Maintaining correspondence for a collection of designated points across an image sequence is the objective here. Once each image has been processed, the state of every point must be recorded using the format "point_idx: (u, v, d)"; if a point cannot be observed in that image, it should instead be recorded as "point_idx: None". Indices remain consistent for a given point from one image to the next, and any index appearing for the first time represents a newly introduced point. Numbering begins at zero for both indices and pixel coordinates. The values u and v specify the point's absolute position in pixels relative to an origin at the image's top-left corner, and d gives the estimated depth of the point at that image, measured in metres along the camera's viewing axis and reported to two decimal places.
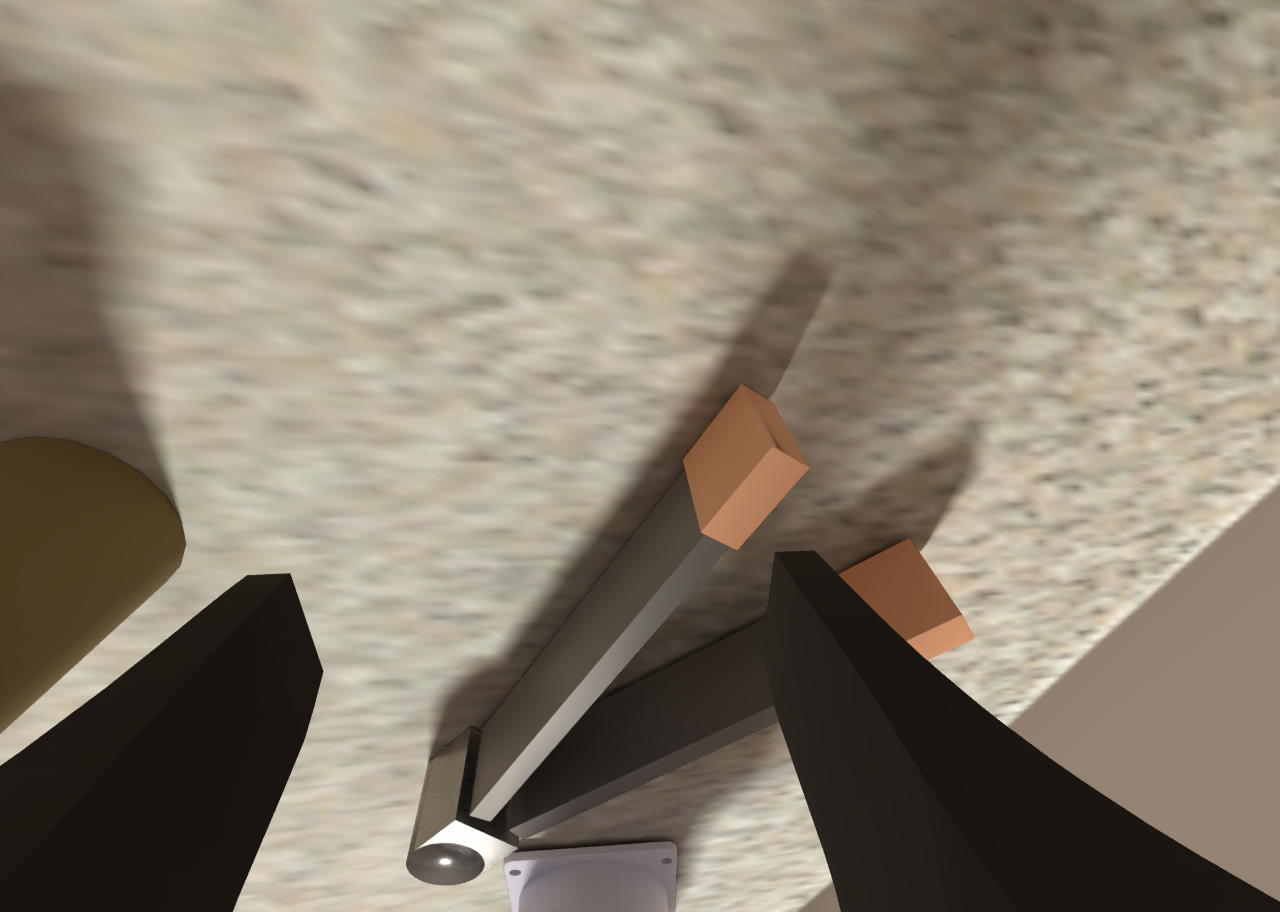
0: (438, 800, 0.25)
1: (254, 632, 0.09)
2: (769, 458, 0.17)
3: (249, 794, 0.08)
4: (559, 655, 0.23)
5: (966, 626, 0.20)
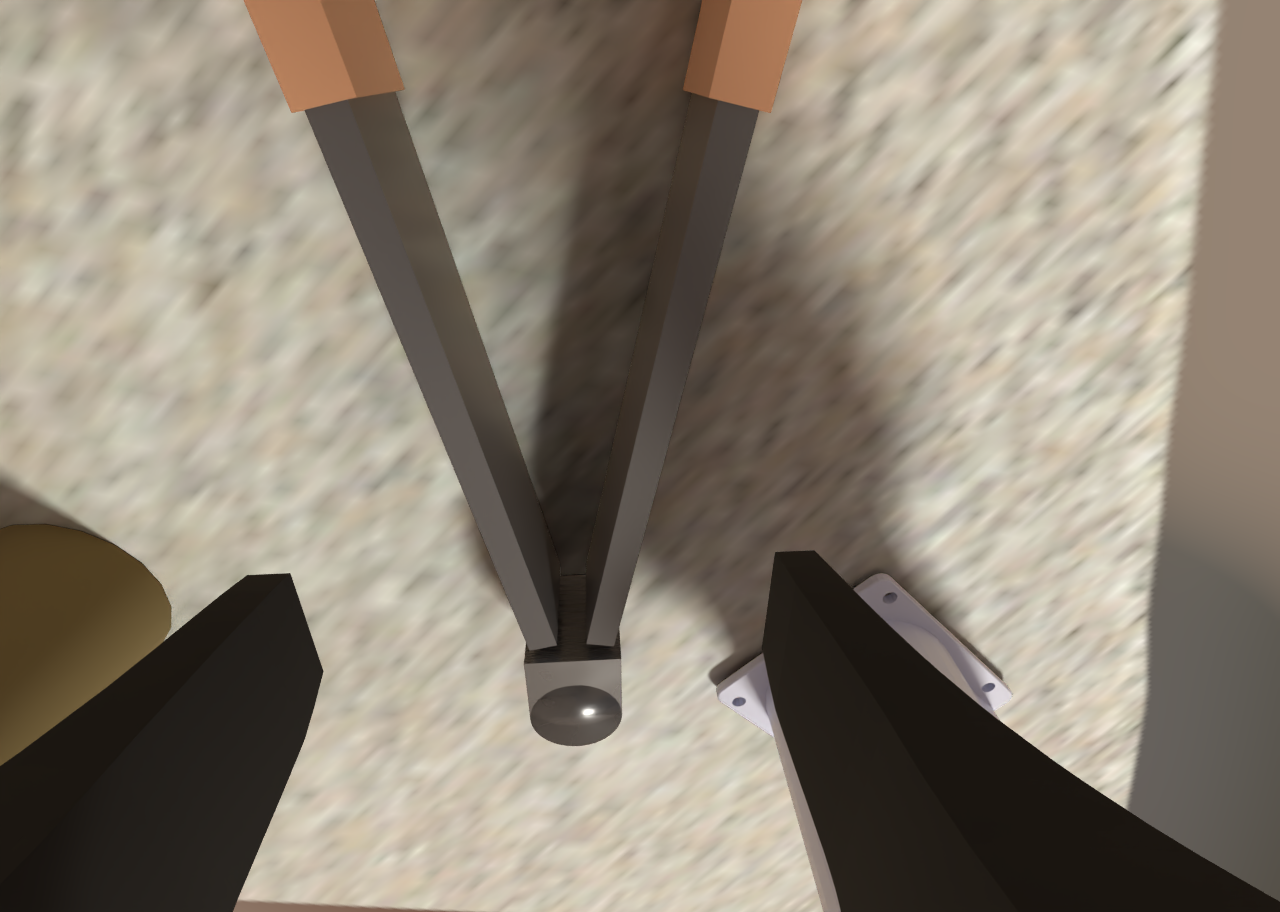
0: None
1: (254, 632, 0.09)
2: None
3: (249, 794, 0.08)
4: None
5: None
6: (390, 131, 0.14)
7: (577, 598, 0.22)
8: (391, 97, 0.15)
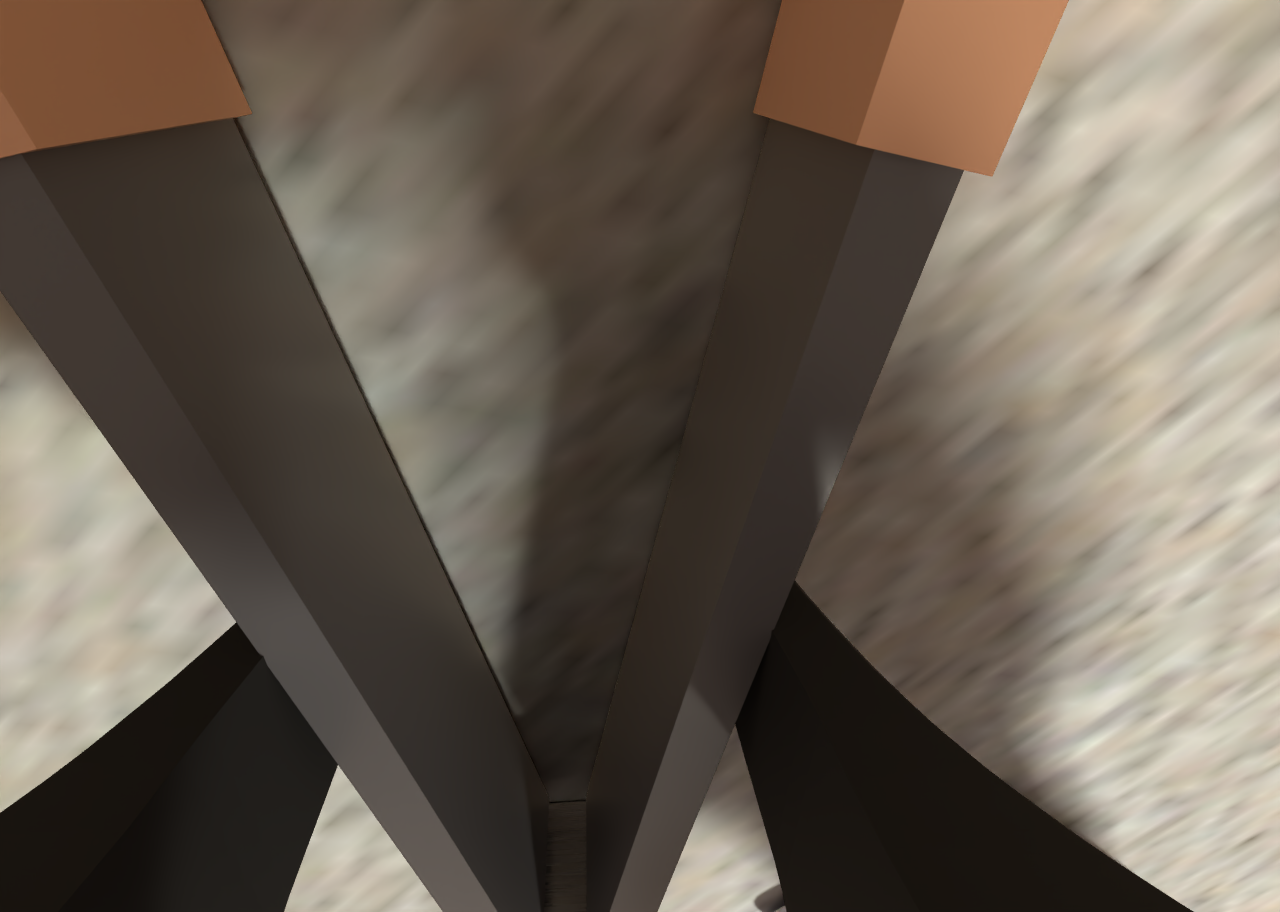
0: None
1: None
2: None
3: (300, 790, 0.09)
4: None
5: None
6: (200, 201, 0.07)
7: (573, 852, 0.15)
8: (218, 130, 0.08)
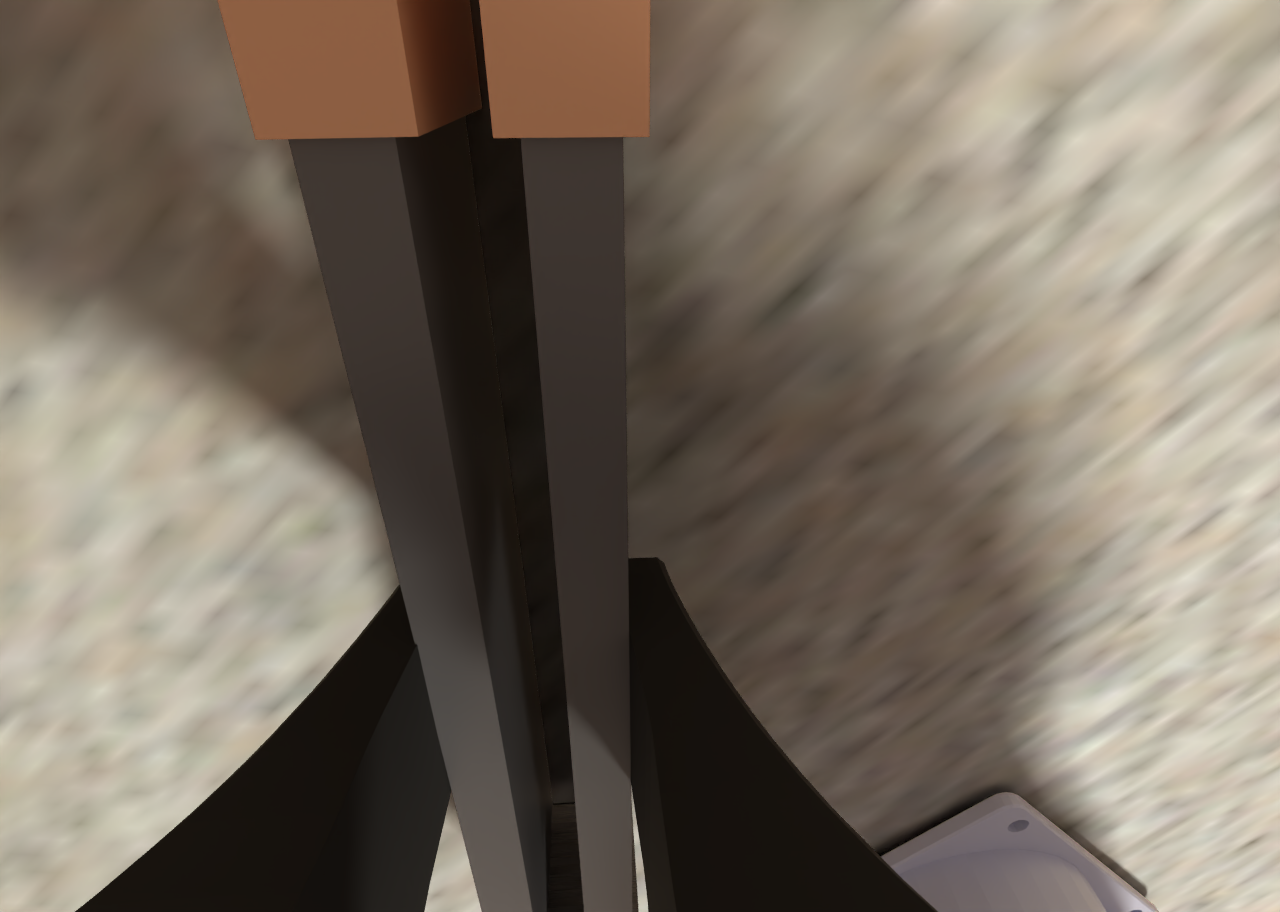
0: None
1: None
2: None
3: (436, 781, 0.09)
4: None
5: None
6: (452, 190, 0.07)
7: (576, 853, 0.15)
8: (459, 120, 0.08)
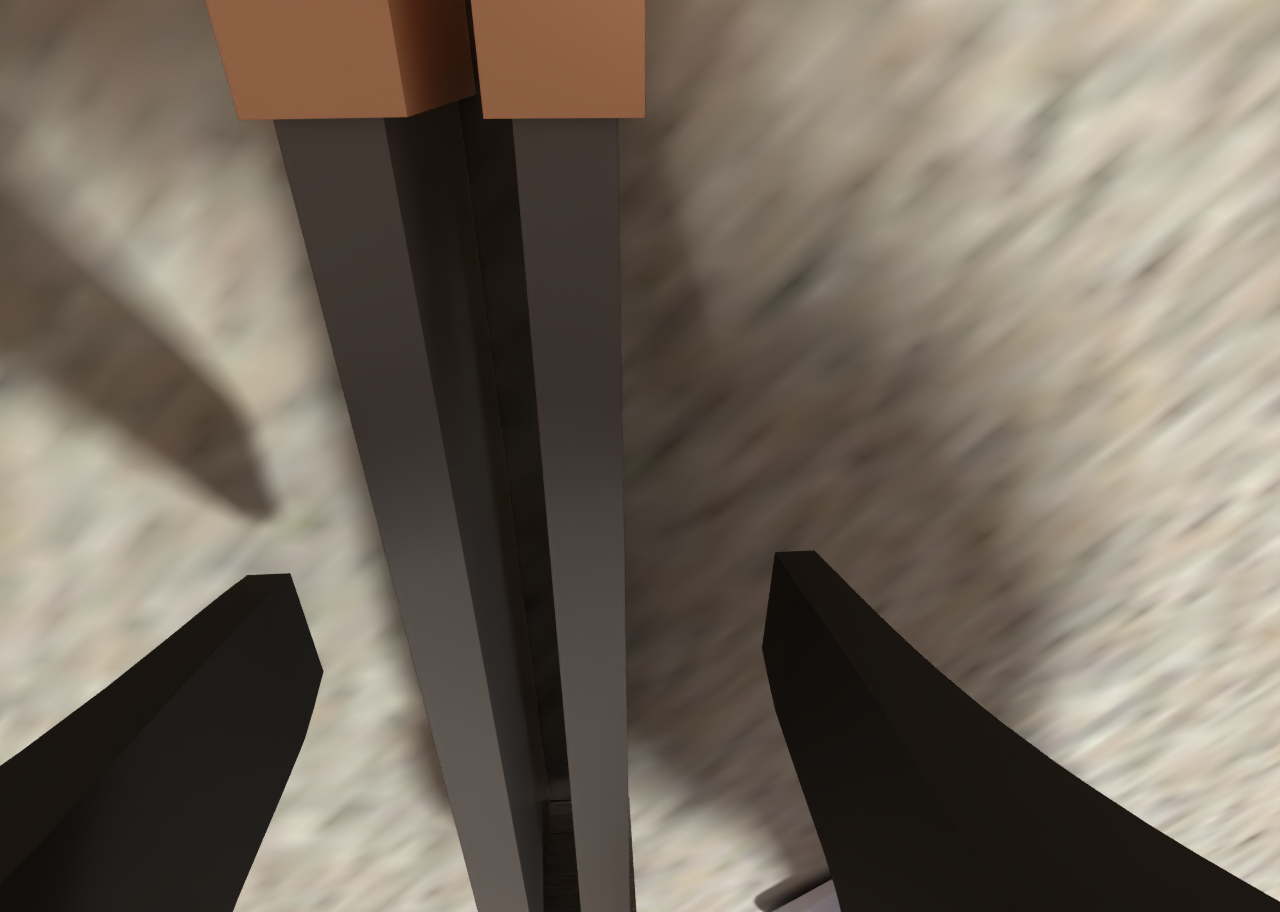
0: None
1: (255, 632, 0.09)
2: None
3: (249, 794, 0.08)
4: None
5: None
6: (444, 176, 0.07)
7: (573, 851, 0.15)
8: (452, 106, 0.08)
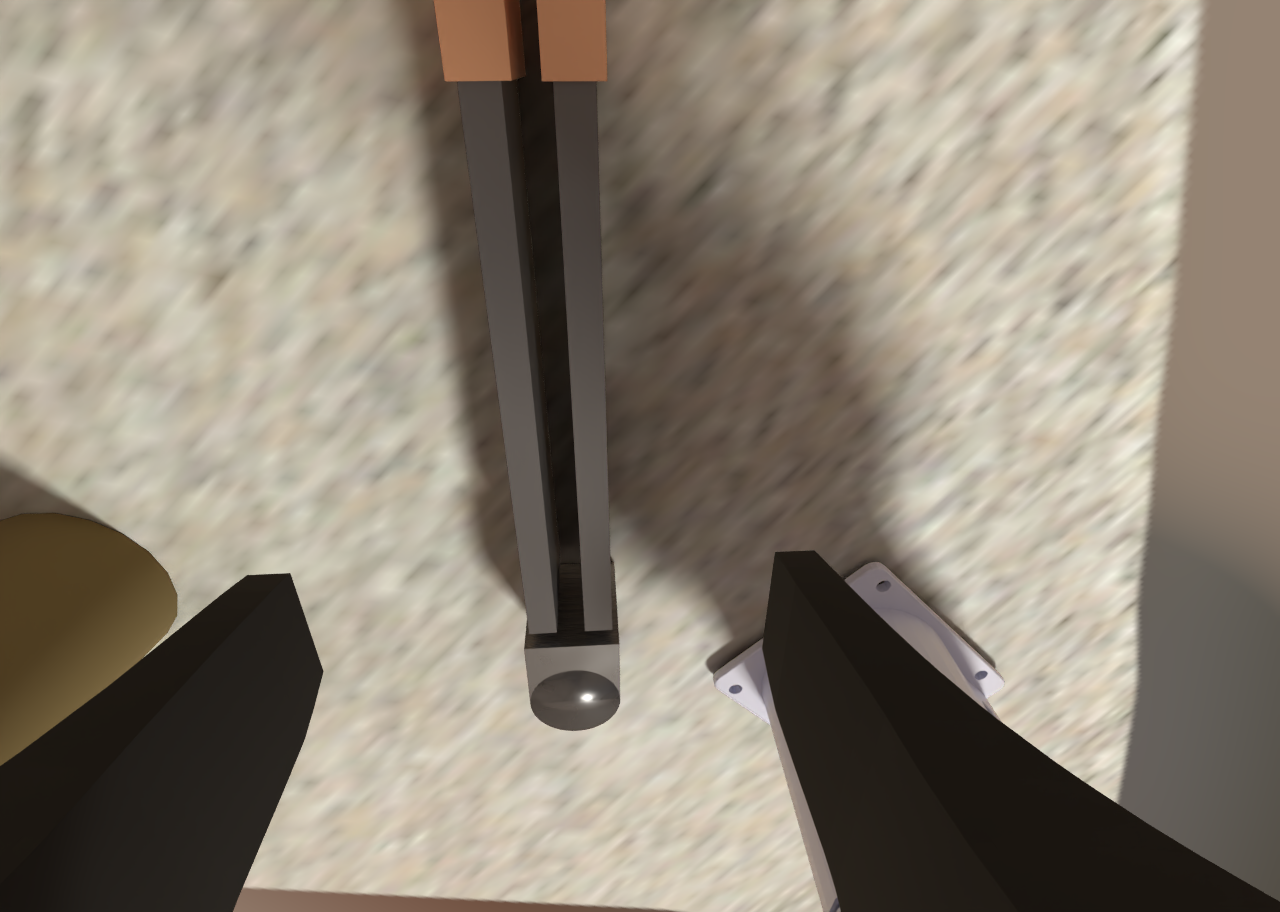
0: None
1: (254, 632, 0.09)
2: None
3: (248, 794, 0.08)
4: None
5: None
6: (514, 115, 0.14)
7: (576, 586, 0.22)
8: (515, 81, 0.15)
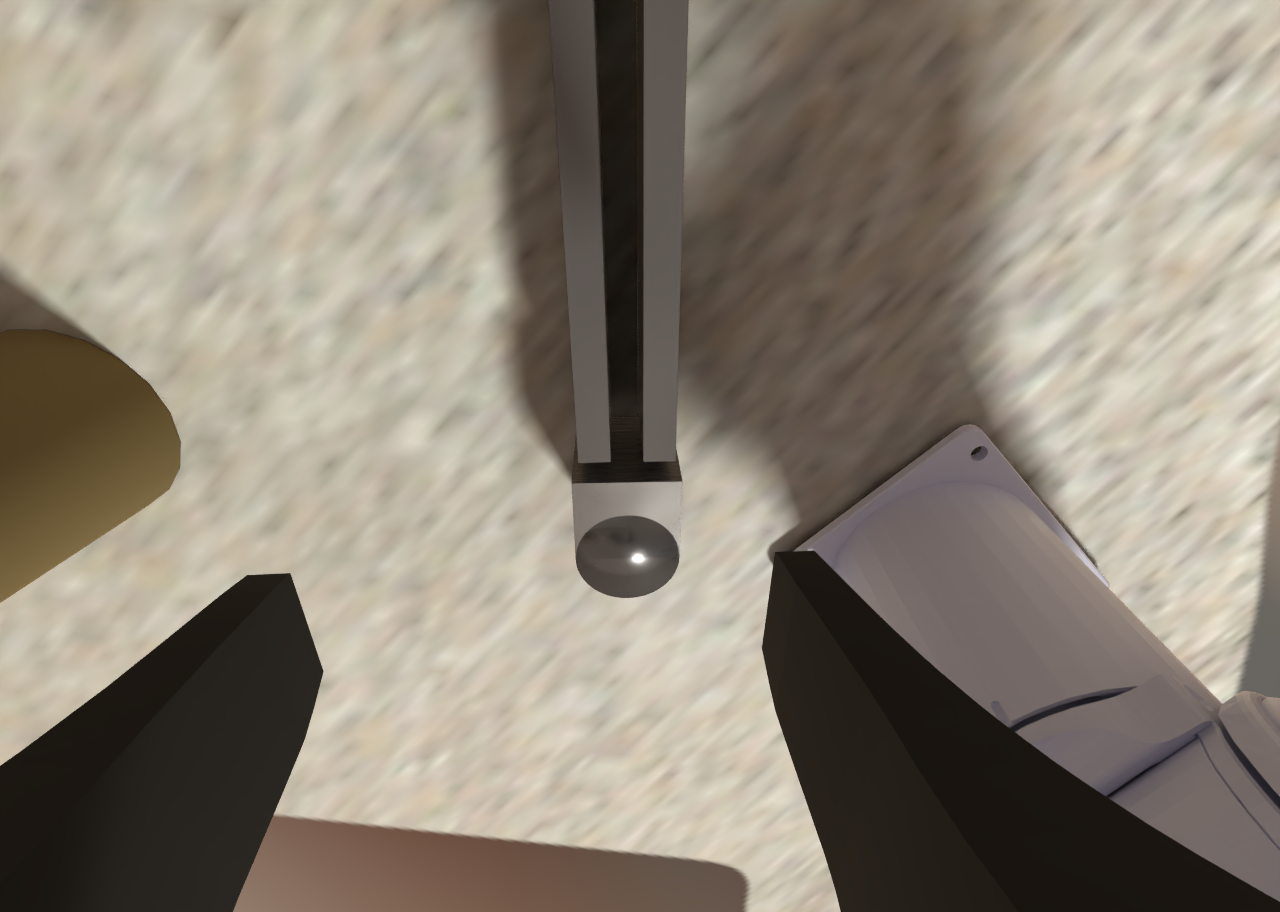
0: None
1: (254, 632, 0.09)
2: None
3: (249, 794, 0.08)
4: None
5: None
6: None
7: (628, 434, 0.19)
8: None
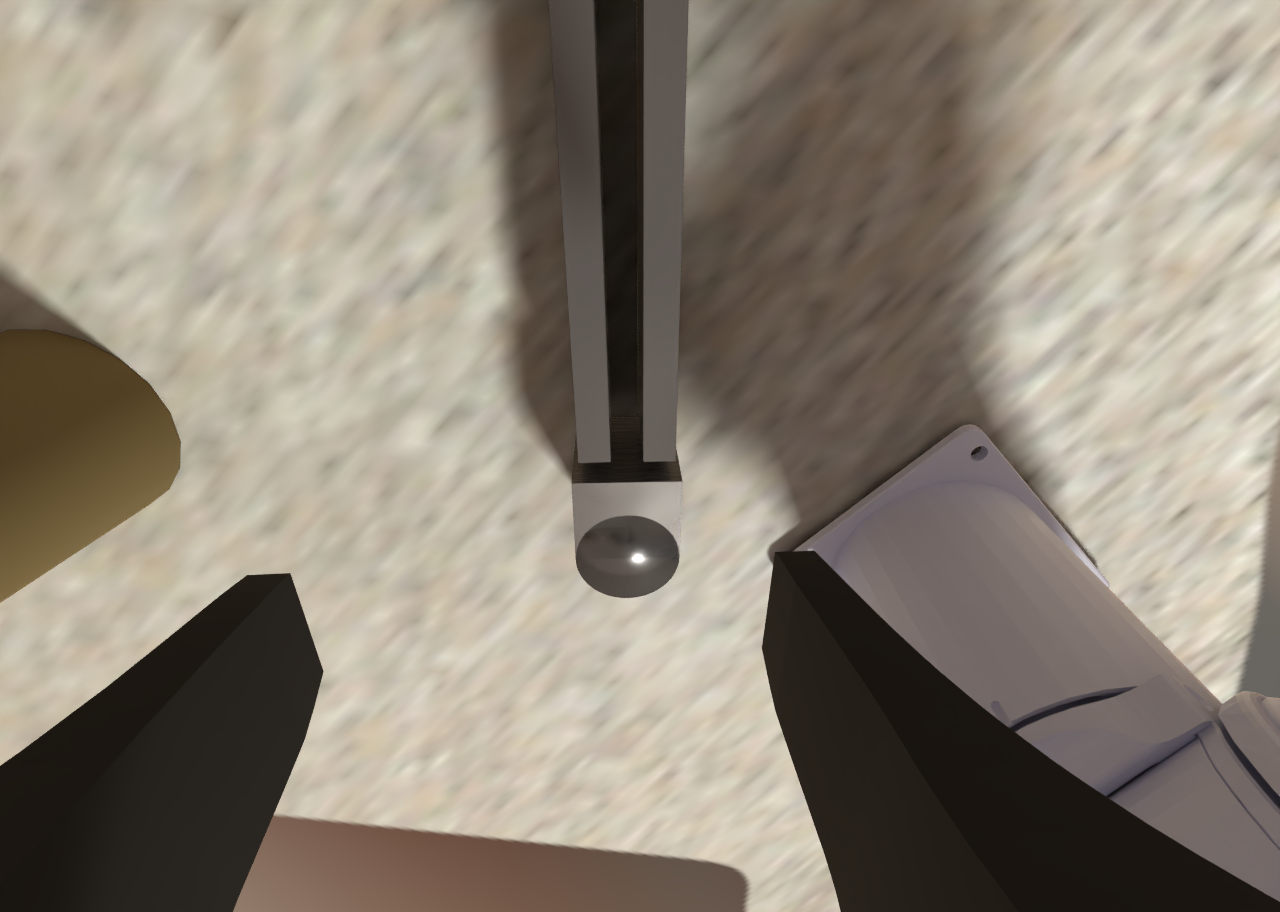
0: None
1: (254, 632, 0.09)
2: None
3: (249, 794, 0.08)
4: None
5: None
6: None
7: (628, 434, 0.19)
8: None
